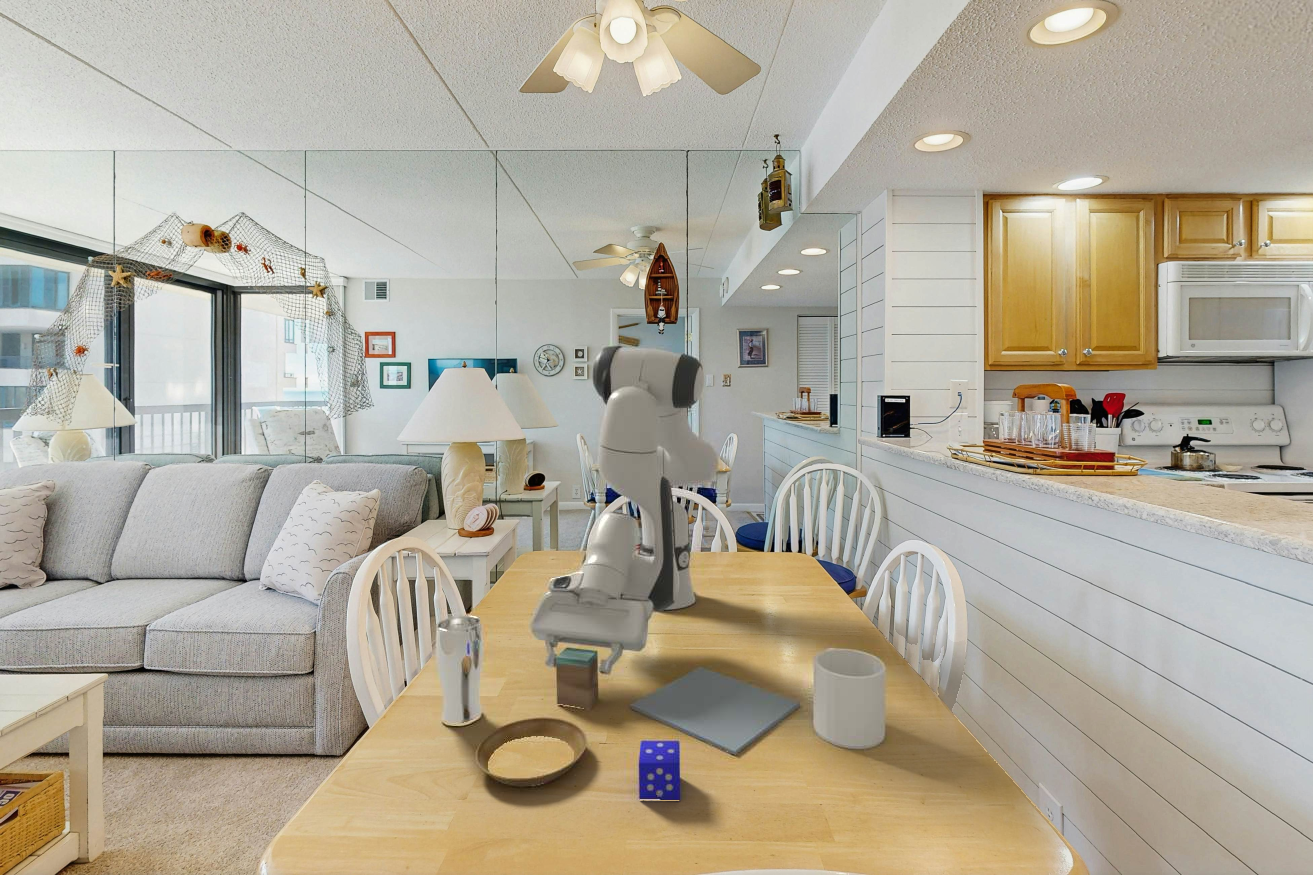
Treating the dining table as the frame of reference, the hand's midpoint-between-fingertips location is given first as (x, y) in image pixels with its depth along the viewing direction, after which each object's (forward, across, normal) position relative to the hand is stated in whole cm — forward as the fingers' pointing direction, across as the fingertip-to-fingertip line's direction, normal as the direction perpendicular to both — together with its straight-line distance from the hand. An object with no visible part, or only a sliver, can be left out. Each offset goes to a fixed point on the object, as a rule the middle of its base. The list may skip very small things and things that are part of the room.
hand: (576, 669), depth 99 cm
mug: (+1, -42, -7) cm, 42 cm away
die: (+17, -19, +8) cm, 27 cm away
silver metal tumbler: (+10, +15, +2) cm, 19 cm away
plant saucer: (+16, -1, +8) cm, 18 cm away
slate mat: (+1, -22, -7) cm, 23 cm away
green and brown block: (+4, 0, -4) cm, 6 cm away
